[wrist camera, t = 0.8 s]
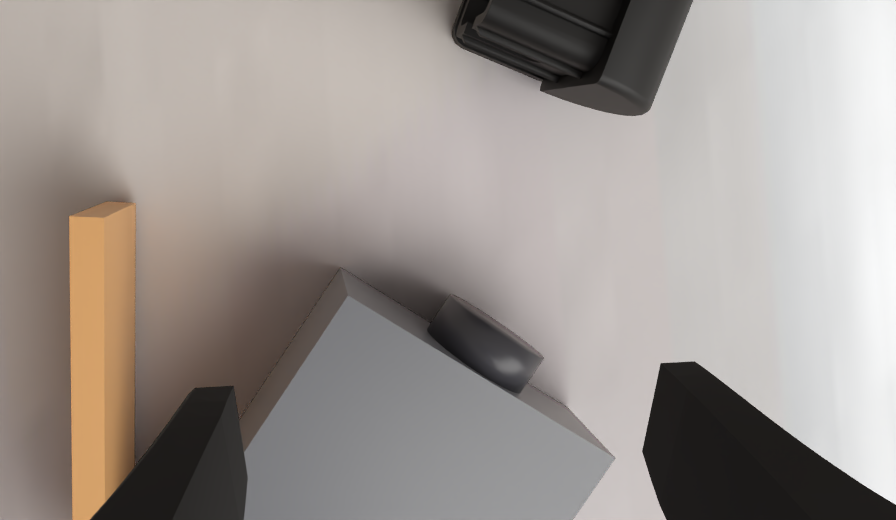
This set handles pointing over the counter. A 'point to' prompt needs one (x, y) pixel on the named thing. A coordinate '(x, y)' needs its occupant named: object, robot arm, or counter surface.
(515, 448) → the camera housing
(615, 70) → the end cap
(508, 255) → the counter surface
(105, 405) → the long wooden stick
